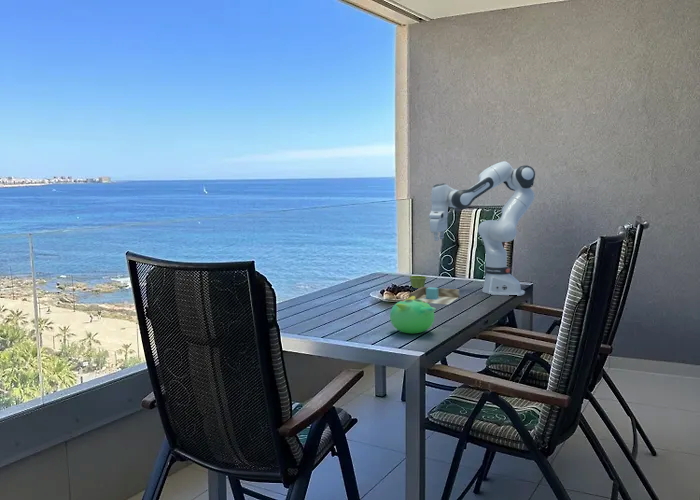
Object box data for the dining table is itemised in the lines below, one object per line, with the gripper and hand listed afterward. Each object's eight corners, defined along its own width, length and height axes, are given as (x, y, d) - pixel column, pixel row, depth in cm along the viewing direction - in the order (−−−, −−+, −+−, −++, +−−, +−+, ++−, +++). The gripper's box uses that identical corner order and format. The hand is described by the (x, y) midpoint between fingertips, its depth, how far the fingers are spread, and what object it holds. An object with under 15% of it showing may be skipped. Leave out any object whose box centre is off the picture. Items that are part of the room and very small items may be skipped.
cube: (429, 296, 329) (429, 287, 328) (438, 297, 327) (438, 287, 326) (426, 298, 325) (426, 288, 324) (435, 299, 322) (435, 289, 322)
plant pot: (426, 291, 350) (426, 275, 349) (426, 294, 341) (426, 278, 340) (409, 291, 351) (409, 275, 350) (409, 294, 342) (409, 278, 340)
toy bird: (430, 327, 268) (431, 293, 266) (437, 338, 251) (438, 301, 249) (388, 328, 267) (388, 293, 266) (392, 338, 251) (392, 301, 249)
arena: (459, 299, 328) (459, 289, 328) (448, 306, 310) (448, 296, 310) (422, 296, 336) (422, 286, 336) (409, 303, 318) (409, 293, 318)
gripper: (439, 212, 351) (439, 237, 353) (427, 215, 333) (427, 241, 335) (450, 213, 349) (450, 238, 351) (439, 215, 330) (439, 241, 332)
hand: (439, 239), depth 342 cm, fingers open, 8 cm apart
